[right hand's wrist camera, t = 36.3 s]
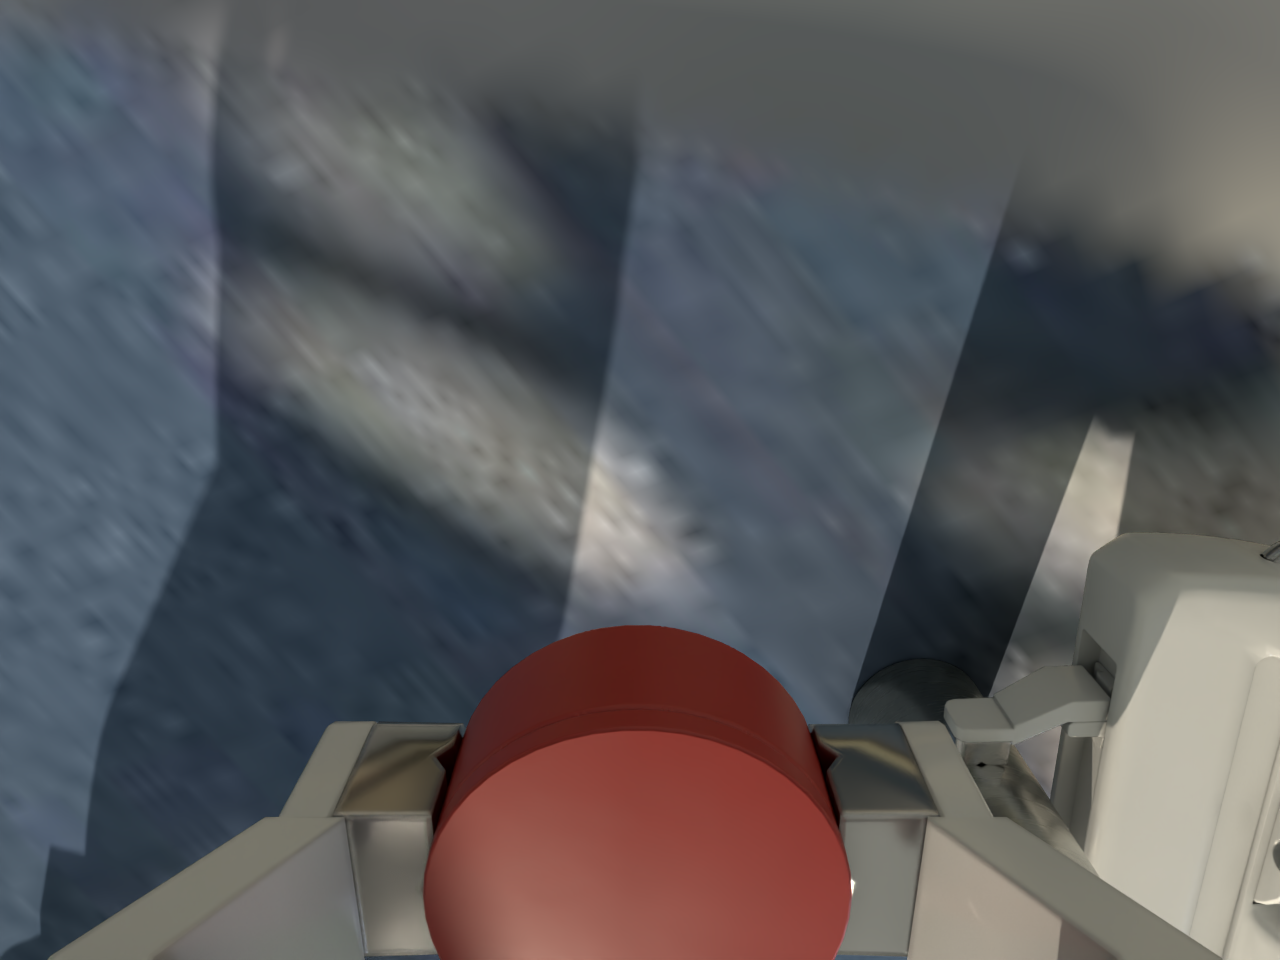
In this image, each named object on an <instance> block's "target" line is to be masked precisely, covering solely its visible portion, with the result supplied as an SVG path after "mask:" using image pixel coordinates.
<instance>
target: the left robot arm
mask: <svg viewBox="0 0 1280 960" xmlns="http://www.w3.org/2000/svg"><path fill="white" fill-rule="evenodd" d="M943 724H944V725H945V726H946V728H947V730H948V732H949V734H950V736H951V738H952V740H953V742H954V743H955V745H956V747H957V749H958V751H959V753H960V755H961V757H962V758H963V760H964V762H965V764H966V766H973V765H977V764H979V763H981V762H983V763H984V764H986V765H1008V759H1009V754H1010V748H1011V744H1012V745H1015V744H1017V743H1019V742H1022V741H1024V740H1026V739H1029V738H1031V737H1034V736H1036V735H1038V734H1041V733H1043V732H1046V731H1048V730H1050V729H1053V728H1055V727H1057V726H1060V725H1061V726H1062V729H1061V735H1060V742H1059V748H1058V754H1057V760H1056V766H1055V772H1054V778H1053V785H1052V791H1051V797H1050V801H1051V802H1052V804H1053V806H1054V807H1055V809H1056V810H1057V812H1058V813H1059V815H1060V816H1061V818H1062V819H1063V821H1064V823H1065V824H1066V826H1067V827H1068V829H1069V830H1070V832H1071V833H1072V835H1073V836H1074V838H1075V840H1076V841H1077V843H1078V844H1079V846H1080V847H1081V849H1082V850H1083V852H1084V853H1085V855H1086V857H1087V858H1088V860H1089V861H1090V863H1091V864H1092V866H1093V867H1094V869H1095V870H1096V872H1097V874H1098V875H1099V877H1100V878H1101V879H1102V880H1104V881H1105V882H1107V883H1108V884H1110V885H1111V886H1113V887H1114V888H1116V889H1117V890H1119V891H1120V892H1122V893H1123V894H1125V895H1127V896H1128V897H1130V898H1131V899H1133V900H1134V901H1136V902H1137V903H1139V904H1140V905H1142V906H1143V907H1145V908H1146V909H1148V910H1149V911H1151V912H1152V913H1154V914H1156V915H1157V916H1159V917H1160V918H1162V919H1163V920H1165V921H1166V922H1168V923H1169V924H1171V925H1172V926H1174V927H1175V928H1177V929H1178V930H1180V931H1182V932H1183V933H1185V934H1186V935H1188V936H1189V937H1191V938H1192V939H1194V940H1195V941H1197V942H1198V943H1200V944H1201V945H1203V946H1204V947H1206V948H1208V949H1209V950H1211V951H1212V952H1214V953H1215V954H1217V955H1218V956H1220V957H1221V958H1222V959H1223V960H1280V541H1278V542H1277V543H1275V544H1273V545H1272V546H1269V545H1265V544H1260V543H1254V542H1249V541H1243V540H1237V539H1229V538H1222V537H1213V536H1203V535H1193V534H1178V533H1154V532H1131V533H1125V534H1122V535H1120V536H1118V537H1117V538H1115V539H1114V540H1112V541H1110V542H1109V543H1107V544H1106V545H1104V546H1103V547H1101V548H1100V549H1098V550H1097V551H1095V552H1094V553H1093V554H1092V556H1091V557H1090V560H1089V564H1088V569H1087V576H1086V582H1085V588H1084V594H1083V600H1082V607H1081V613H1080V619H1079V625H1078V631H1077V637H1076V644H1075V650H1074V656H1073V662H1072V666H1046V667H1042V668H1040V669H1039V670H1037V671H1035V672H1033V673H1031V674H1030V675H1028V676H1026V677H1024V678H1023V679H1021V680H1019V681H1017V682H1015V683H1014V684H1012V685H1010V686H1008V687H1006V688H1005V689H1003V690H1001V691H999V692H997V693H996V694H994V696H993V698H969V699H952V700H949V701H947V702H946V704H945V708H944V717H943Z"/></svg>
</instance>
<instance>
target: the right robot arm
mask: <svg viewBox="0 0 1280 960" xmlns="http://www.w3.org/2000/svg"><path fill="white" fill-rule="evenodd" d="M808 728H809V731H810V733H811V736H812V740H813V743H814V747H815V750H816V753H817V757H818V759H819V763H820V766H821V769H822V773H823V776H824V779H825V783H826V787H827V791H828V794H829V797H830V801H831V804H832V807H833V811H834V814H835V818H836V821H837V826H838V828H839V831H840V833H841V836H842V840H843V843H844V847H845V850H846V854H847V858H848V863H849V867H850V871H851V883H852V901H851V910H850V918H849V921H848V925H847V928H846V932H845V936H844V939H843V941H842V944H841V946H840V948H839V950H838V952H837V954H838V955H873V956H908V959H907V960H1223V959H1222V958H1221V957H1220V956H1218V955H1217V954H1215V953H1214V952H1212V951H1211V950H1209V949H1208V948H1206V947H1204V946H1203V945H1201V944H1200V943H1198V942H1197V941H1195V940H1194V939H1192V938H1191V937H1189V936H1188V935H1186V934H1185V933H1183V932H1182V931H1180V930H1178V929H1177V928H1175V927H1174V926H1172V925H1171V924H1169V923H1168V922H1166V921H1165V920H1163V919H1162V918H1160V917H1159V916H1157V915H1156V914H1154V913H1152V912H1151V911H1149V910H1148V909H1146V908H1145V907H1143V906H1142V905H1140V904H1139V903H1137V902H1136V901H1134V900H1133V899H1131V898H1130V897H1128V896H1127V895H1125V894H1123V893H1122V892H1120V891H1119V890H1117V889H1116V888H1114V887H1113V886H1111V885H1110V884H1108V883H1107V882H1105V881H1104V880H1102V879H1101V878H1099V877H1097V876H1096V875H1094V874H1093V873H1091V872H1090V871H1088V870H1087V869H1085V868H1084V867H1082V866H1081V865H1079V864H1078V863H1076V862H1075V861H1073V860H1071V859H1070V858H1068V857H1067V856H1065V855H1064V854H1062V853H1061V852H1059V851H1058V850H1056V849H1055V848H1053V847H1052V846H1050V845H1049V844H1047V843H1045V842H1044V841H1042V840H1041V839H1039V838H1038V837H1036V836H1035V835H1033V834H1032V833H1030V832H1029V831H1027V830H1026V829H1024V828H1023V827H1021V826H1020V825H1018V824H1016V823H1015V822H1013V821H1012V820H1010V819H1009V818H1007V817H993V815H992V813H991V811H990V809H989V807H988V806H987V804H986V802H985V800H984V798H983V796H982V794H981V792H980V790H979V789H978V787H977V785H976V783H975V781H974V779H973V777H972V775H971V774H970V772H969V770H968V768H967V766H966V764H965V762H964V760H963V758H962V757H961V755H960V753H959V751H958V749H957V747H956V745H955V743H954V742H953V740H952V738H951V736H950V734H949V732H948V730H947V728H946V726H945V725H944V724H942V723H941V722H939V721H913V722H895V723H879V724H808ZM465 731H466V728H465V726H464V724H463V723H429V722H382V721H379V722H378V723H377V722H374V721H335V722H334V723H332V724H330V725H329V726H328V727H327V728H326V729H325V731H324V733H323V735H322V737H321V739H320V740H319V742H318V744H317V746H316V748H315V750H314V752H313V753H312V755H311V757H310V759H309V761H308V763H307V765H306V766H305V768H304V770H303V772H302V774H301V776H300V778H299V779H298V781H297V783H296V785H295V787H294V789H293V791H292V793H291V794H290V796H289V798H288V800H287V802H286V804H285V806H284V807H283V809H282V811H281V813H280V815H279V817H265V818H263V819H262V820H260V821H258V822H257V823H255V824H254V825H252V826H251V827H249V828H248V829H246V830H245V831H243V832H241V833H240V834H238V835H237V836H235V837H234V838H232V839H231V840H229V841H227V842H226V843H224V844H223V845H221V846H220V847H218V848H217V849H215V850H214V851H212V852H210V853H209V854H207V855H206V856H204V857H203V858H201V859H200V860H198V861H197V862H195V863H193V864H192V865H190V866H189V867H187V868H186V869H184V870H183V871H181V872H180V873H178V874H176V875H175V876H173V877H172V878H170V879H169V880H167V881H166V882H164V883H163V884H161V885H159V886H158V887H156V888H155V889H153V890H152V891H150V892H149V893H147V894H145V895H144V896H142V897H141V898H139V899H138V900H136V901H135V902H133V903H132V904H130V905H128V906H127V907H125V908H124V909H122V910H121V911H119V912H118V913H116V914H115V915H113V916H111V917H110V918H108V919H107V920H105V921H104V922H102V923H101V924H99V925H98V926H96V927H94V928H93V929H91V930H90V931H88V932H87V933H85V934H84V935H82V936H81V937H79V938H77V939H76V940H74V941H73V942H71V943H70V944H68V945H67V946H65V947H63V948H62V949H60V950H59V951H57V952H56V953H54V954H53V955H51V956H50V957H49V958H48V960H365V958H364V956H398V955H432V954H438V953H437V951H436V949H435V947H434V945H433V942H432V940H431V937H430V933H429V930H428V926H427V922H426V919H425V912H424V902H423V883H424V871H425V867H426V863H427V859H428V855H429V851H430V847H431V844H432V840H433V837H434V834H435V831H436V827H437V823H438V820H439V817H440V813H441V810H442V806H443V803H444V800H445V796H446V793H447V789H448V786H449V783H450V779H451V776H452V772H453V769H454V766H455V762H456V759H457V756H458V752H459V749H460V745H461V742H462V739H463V735H464V733H465Z"/></svg>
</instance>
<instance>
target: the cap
mask: <svg viewBox="0 0 1280 960" xmlns="http://www.w3.org/2000/svg"><path fill="white" fill-rule="evenodd" d="M851 901H852V883H851V871H850V867H849V863H848V858H847V854H846V850H845V847H844V843H843V840H842V836H841V833H840V831H839V828H838V826H837V821H836V818H835V814H834V811H833V807H832V804H831V801H830V797H829V794H828V791H827V787H826V783H825V779H824V776H823V773H822V769H821V766H820V763H819V759H818V757H817V753H816V750H815V747H814V743H813V740H812V736H811V733H810V731H809V728H808V726H807V723H806V721H805V719H804V716H803V715H802V713H801V711H800V710H799V708H798V706H797V705H796V703H795V702H794V700H793V698H792V697H791V696H790V695H789V694H788V692H787V691H786V690H785V689H784V688H783V686H782V685H781V684H780V683H779V682H778V681H777V680H776V679H775V678H774V677H773V676H772V675H771V674H770V673H768V672H767V671H766V670H765V669H764V668H763V667H762V666H760V665H759V664H757V663H756V662H754V661H753V660H752V659H750V658H749V657H747V656H746V655H744V654H743V653H741V652H739V651H737V650H736V649H734V648H731V647H730V646H728V645H726V644H724V643H722V642H719V641H717V640H714V639H711V638H708V637H706V636H703V635H700V634H697V633H693V632H689V631H684V630H680V629H676V628H669V627H661V626H652V625H624V626H615V627H607V628H599V629H595V630H590V631H585V632H582V633H578V634H575V635H572V636H570V637H567V638H564V639H561V640H559V641H556V642H554V643H552V644H550V645H548V646H546V647H544V648H542V649H540V650H538V651H536V652H534V653H532V654H531V655H530V656H528V657H526V658H525V659H524V660H522V661H520V662H519V663H518V664H516V665H515V666H514V667H512V668H511V669H510V670H509V671H508V672H507V673H506V674H505V675H503V676H502V677H501V678H500V679H499V680H498V681H497V682H496V683H495V684H494V685H493V686H492V688H491V689H490V690H489V691H488V692H487V694H486V695H485V696H484V697H483V698H482V700H481V702H480V703H479V705H478V706H477V708H476V710H475V711H474V713H473V715H472V716H471V719H470V721H469V723H468V726H467V728H466V731H465V733H464V735H463V739H462V742H461V745H460V749H459V752H458V756H457V759H456V762H455V766H454V769H453V772H452V776H451V779H450V783H449V786H448V789H447V793H446V796H445V800H444V803H443V806H442V810H441V813H440V817H439V820H438V823H437V827H436V831H435V834H434V837H433V840H432V844H431V847H430V851H429V855H428V859H427V863H426V867H425V871H424V883H423V902H424V912H425V919H426V922H427V926H428V930H429V933H430V937H431V940H432V942H433V945H434V947H435V949H436V951H437V953H438V956H439V958H440V960H834V959H835V957H836V955H837V952H838V950H839V948H840V946H841V944H842V941H843V939H844V936H845V932H846V928H847V925H848V921H849V918H850V910H851Z"/></svg>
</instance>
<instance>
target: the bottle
mask: <svg viewBox="0 0 1280 960" xmlns="http://www.w3.org/2000/svg"><path fill="white" fill-rule="evenodd" d="M969 698H984V697H983V696H982V694H981V693H980V691H979V690H978V688H977V687H976V685H975V683H974V682H973V681H972V680H971V678H970V677H969V676H968V675H967V674H966V673H964V672H963V671H962V670H960V669H959V668H957V667H955V666H953V665H951V664H949V663H946V662H943V661H939V660H933V659H913V660H907V661H903V662H899V663H896V664H893V665H891V666H888V667H887V668H885V669H883V670H881V671H879V672H878V673H877V674H875V675H874V676H872V677H871V678H870V679H869V680H868V681H867V682H866V683H865V684H864V685H863V686H862V687H861V689H860V690H859V692H858V693H857V694H856V696H855V698H854V700H853V703H852V706H851V708H850V713H849V724H879V723H895V722H913V721H939V722H941V723H942V724H943V717H944V708H945V704H946V702H947V701H949V700H952V699H969ZM967 768H968V770H969V772H970V774H971V775H972V777H973V779H974V781H975V783H976V785H977V787H978V789H979V790H980V792H981V794H982V796H983V798H984V800H985V802H986V804H987V806H988V807H989V809H990V811H991V813H992V815H993V817H1007V818H1009V819H1010V820H1012V821H1013V822H1015V823H1016V824H1018V825H1020V826H1021V827H1023V828H1024V829H1026V830H1027V831H1029V832H1030V833H1032V834H1033V835H1035V836H1036V837H1038V838H1039V839H1041V840H1042V841H1044V842H1045V843H1047V844H1049V845H1050V846H1052V847H1053V848H1055V849H1056V850H1058V851H1059V852H1061V853H1062V854H1064V855H1065V856H1067V857H1068V858H1070V859H1071V860H1073V861H1075V862H1076V863H1078V864H1079V865H1081V866H1082V867H1084V868H1085V869H1087V870H1088V871H1090V872H1091V873H1093V874H1094V875H1096V876H1097V877H1099V875H1098V874H1097V872H1096V870H1095V869H1094V867H1093V866H1092V864H1091V863H1090V861H1089V860H1088V858H1087V857H1086V855H1085V853H1084V852H1083V850H1082V849H1081V847H1080V846H1079V844H1078V843H1077V841H1076V840H1075V838H1074V836H1073V835H1072V833H1071V832H1070V830H1069V829H1068V827H1067V826H1066V824H1065V823H1064V821H1063V819H1062V818H1061V816H1060V815H1059V813H1058V812H1057V810H1056V809H1055V807H1054V806H1053V804H1052V802H1051V801H1050V799H1049V798H1048V796H1047V795H1046V793H1045V792H1044V790H1043V789H1042V787H1041V785H1040V784H1039V782H1038V781H1037V779H1036V778H1035V776H1034V775H1033V773H1032V772H1031V770H1030V768H1029V767H1028V765H1027V764H1026V762H1025V761H1024V759H1023V758H1022V756H1021V755H1020V753H1019V751H1018V750H1017V748H1016V747H1015V745H1012V744H1011V748H1010V754H1009V759H1008V765H986V764H984V763H983V762H981V763H979V764H977V765H973V766H967ZM1099 878H1100V877H1099Z"/></svg>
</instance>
